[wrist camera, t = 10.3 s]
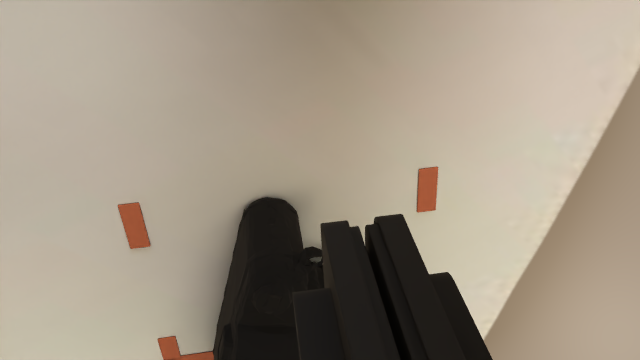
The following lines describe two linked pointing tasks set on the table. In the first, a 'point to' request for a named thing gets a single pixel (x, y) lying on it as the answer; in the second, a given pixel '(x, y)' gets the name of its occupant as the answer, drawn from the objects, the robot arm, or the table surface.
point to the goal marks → (140, 239)
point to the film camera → (265, 285)
